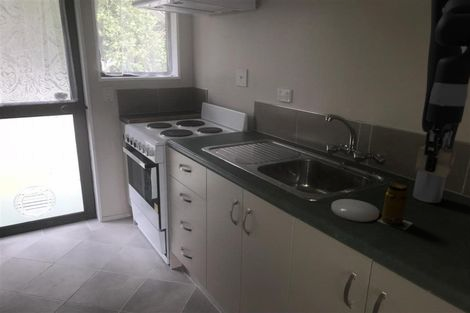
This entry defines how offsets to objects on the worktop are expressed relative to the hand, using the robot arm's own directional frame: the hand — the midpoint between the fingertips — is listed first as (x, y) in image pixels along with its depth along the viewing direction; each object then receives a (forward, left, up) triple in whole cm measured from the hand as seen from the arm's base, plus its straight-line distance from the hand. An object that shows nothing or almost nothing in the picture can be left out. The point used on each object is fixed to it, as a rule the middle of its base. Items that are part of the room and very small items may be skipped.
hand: (433, 168), depth 88 cm
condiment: (-9, -10, -22) cm, 26 cm away
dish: (-7, -22, -22) cm, 32 cm away
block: (0, 0, -1) cm, 1 cm away
